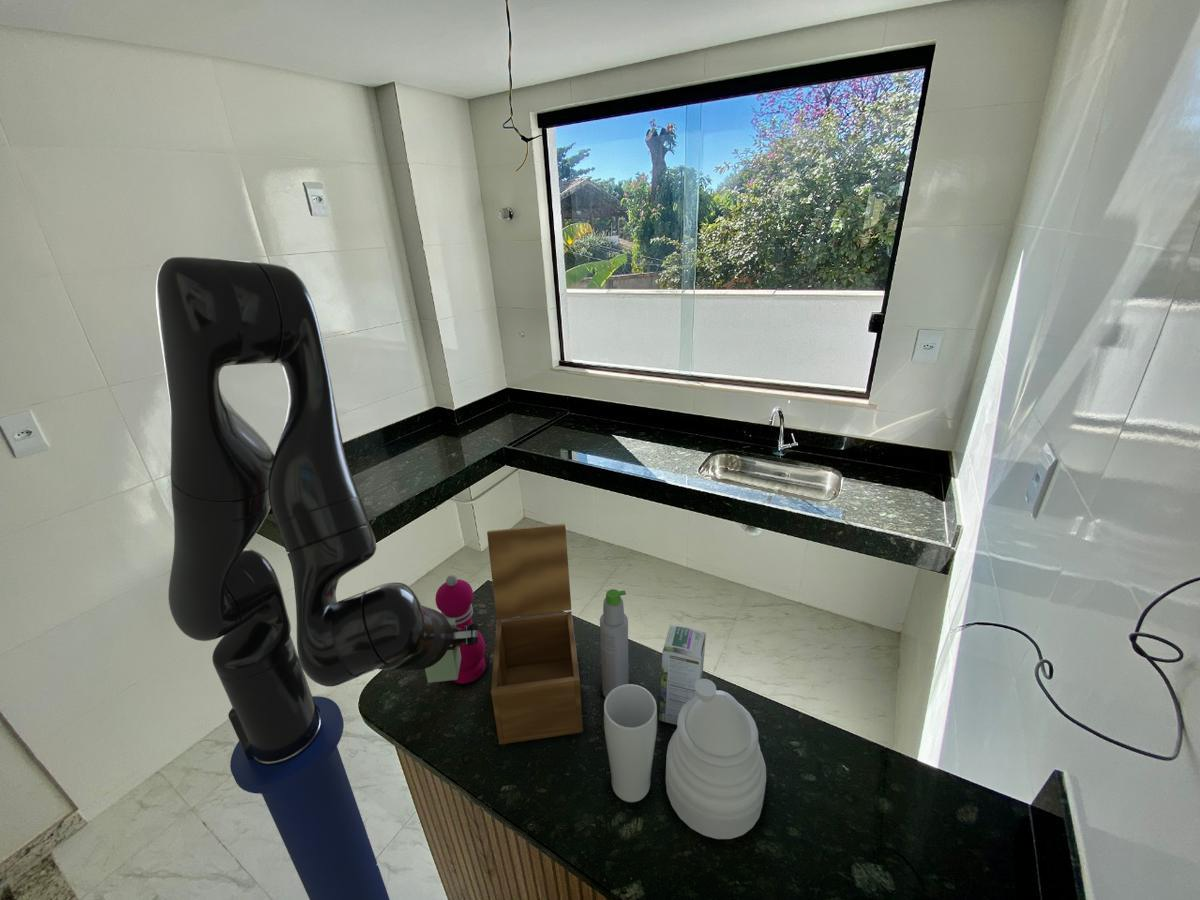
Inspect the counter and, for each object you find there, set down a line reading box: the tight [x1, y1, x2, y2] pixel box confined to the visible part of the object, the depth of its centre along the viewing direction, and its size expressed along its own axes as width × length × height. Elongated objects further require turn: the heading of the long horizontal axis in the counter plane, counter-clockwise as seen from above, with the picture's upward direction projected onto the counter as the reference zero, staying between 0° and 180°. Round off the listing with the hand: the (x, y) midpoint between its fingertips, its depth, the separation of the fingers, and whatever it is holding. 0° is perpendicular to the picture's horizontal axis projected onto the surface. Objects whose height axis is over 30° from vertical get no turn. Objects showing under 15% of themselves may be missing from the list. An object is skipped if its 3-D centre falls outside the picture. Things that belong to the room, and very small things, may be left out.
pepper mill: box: [434, 574, 486, 685], centre depth 82 cm, size 7×7×20 cm
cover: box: [486, 523, 572, 620], centre depth 80 cm, size 15×13×1 cm
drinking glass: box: [603, 683, 658, 803], centre depth 63 cm, size 7×7×15 cm
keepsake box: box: [490, 610, 584, 745], centre depth 78 cm, size 15×13×11 cm
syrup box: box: [658, 624, 707, 726], centre depth 74 cm, size 6×6×14 cm
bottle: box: [599, 588, 630, 699], centre depth 77 cm, size 4×4×20 cm
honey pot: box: [665, 678, 767, 840], centre depth 62 cm, size 13×13×18 cm
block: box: [424, 618, 461, 684], centre depth 74 cm, size 4×4×8 cm
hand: (443, 640), depth 76 cm, fingers closed on block, 4 cm apart
